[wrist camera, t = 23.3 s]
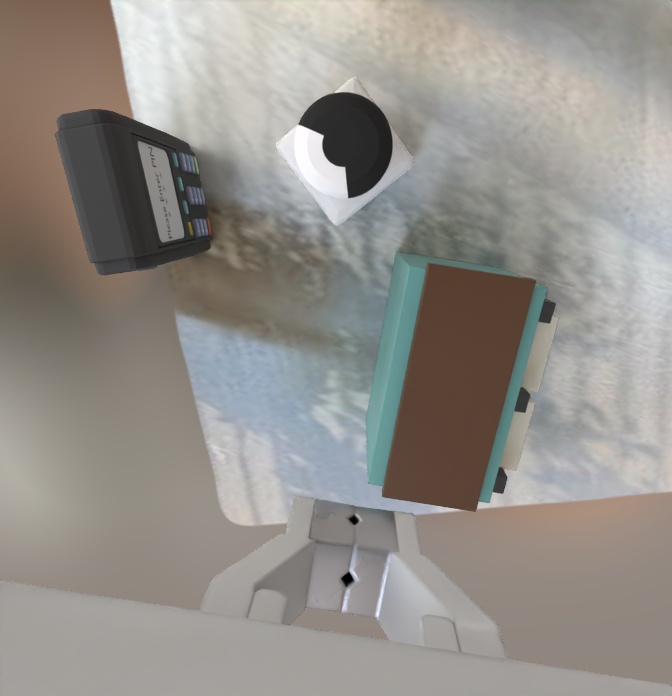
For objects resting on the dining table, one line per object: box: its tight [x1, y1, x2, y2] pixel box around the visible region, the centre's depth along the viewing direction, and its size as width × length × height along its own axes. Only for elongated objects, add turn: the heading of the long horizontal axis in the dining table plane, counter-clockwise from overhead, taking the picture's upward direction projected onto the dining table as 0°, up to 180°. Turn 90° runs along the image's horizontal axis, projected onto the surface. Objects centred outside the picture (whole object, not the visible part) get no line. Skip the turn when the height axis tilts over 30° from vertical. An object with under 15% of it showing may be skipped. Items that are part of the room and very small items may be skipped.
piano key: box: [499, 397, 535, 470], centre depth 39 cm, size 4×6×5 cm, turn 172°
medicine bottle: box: [276, 77, 415, 226], centre depth 35 cm, size 7×7×12 cm
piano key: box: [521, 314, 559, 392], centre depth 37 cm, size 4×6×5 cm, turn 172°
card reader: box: [55, 109, 212, 275], centre depth 35 cm, size 9×4×15 cm, turn 8°
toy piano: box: [366, 252, 556, 512], centre depth 39 cm, size 10×17×12 cm, turn 171°
